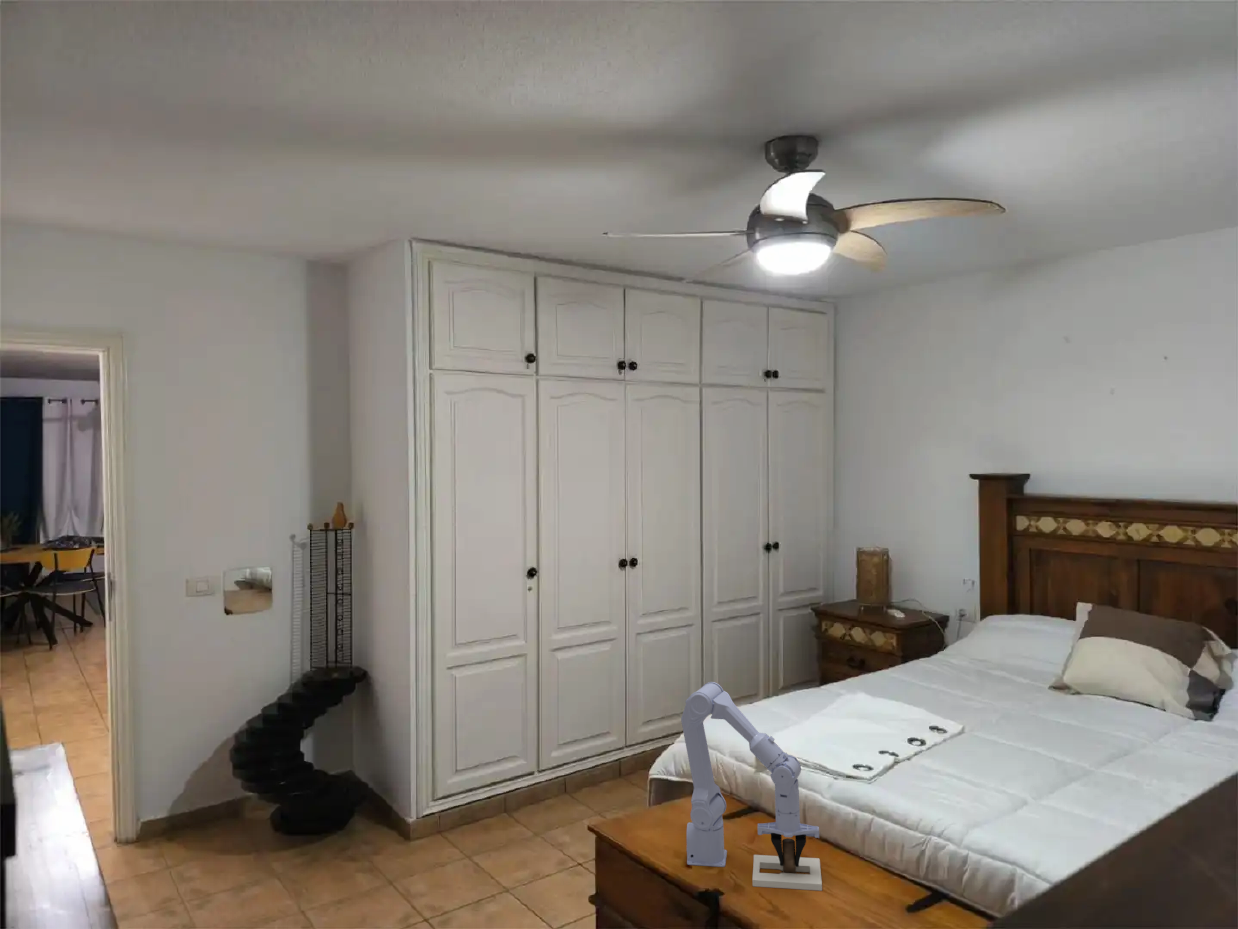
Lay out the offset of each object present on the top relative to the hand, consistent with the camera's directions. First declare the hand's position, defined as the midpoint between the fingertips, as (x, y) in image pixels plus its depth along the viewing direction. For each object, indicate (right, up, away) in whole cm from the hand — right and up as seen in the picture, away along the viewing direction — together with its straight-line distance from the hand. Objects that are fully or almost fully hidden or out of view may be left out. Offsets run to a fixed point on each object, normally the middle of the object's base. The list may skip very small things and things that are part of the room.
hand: (789, 864), depth 202 cm
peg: (0, -3, 0) cm, 2 cm away
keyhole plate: (-1, -3, 0) cm, 3 cm away
